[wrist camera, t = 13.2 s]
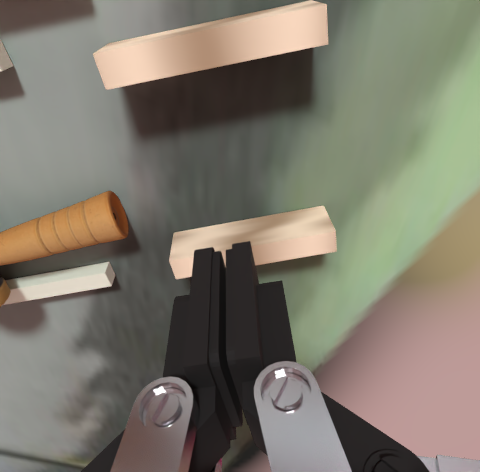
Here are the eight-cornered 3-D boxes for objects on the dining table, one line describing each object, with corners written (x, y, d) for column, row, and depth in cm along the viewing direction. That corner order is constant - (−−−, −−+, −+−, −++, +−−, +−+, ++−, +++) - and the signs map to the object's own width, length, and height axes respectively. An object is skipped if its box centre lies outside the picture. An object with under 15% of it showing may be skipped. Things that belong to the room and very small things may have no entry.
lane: (311, 0, 18) (326, 4, 16) (324, 224, 25) (336, 251, 23) (109, 43, 19) (92, 54, 16) (179, 250, 26) (176, 279, 23)
